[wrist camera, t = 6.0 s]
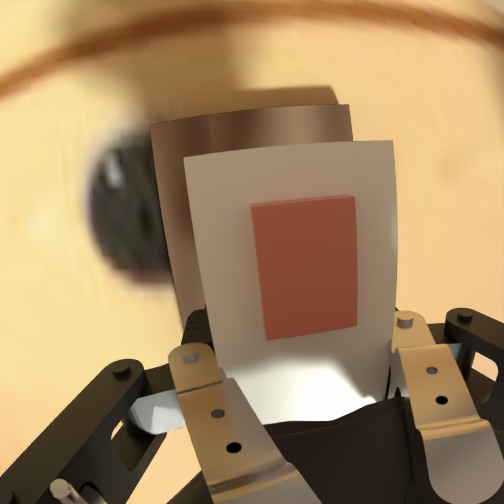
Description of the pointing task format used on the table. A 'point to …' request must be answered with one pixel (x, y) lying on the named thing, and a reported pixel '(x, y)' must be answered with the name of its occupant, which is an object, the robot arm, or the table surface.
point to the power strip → (299, 272)
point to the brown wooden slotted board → (221, 140)
